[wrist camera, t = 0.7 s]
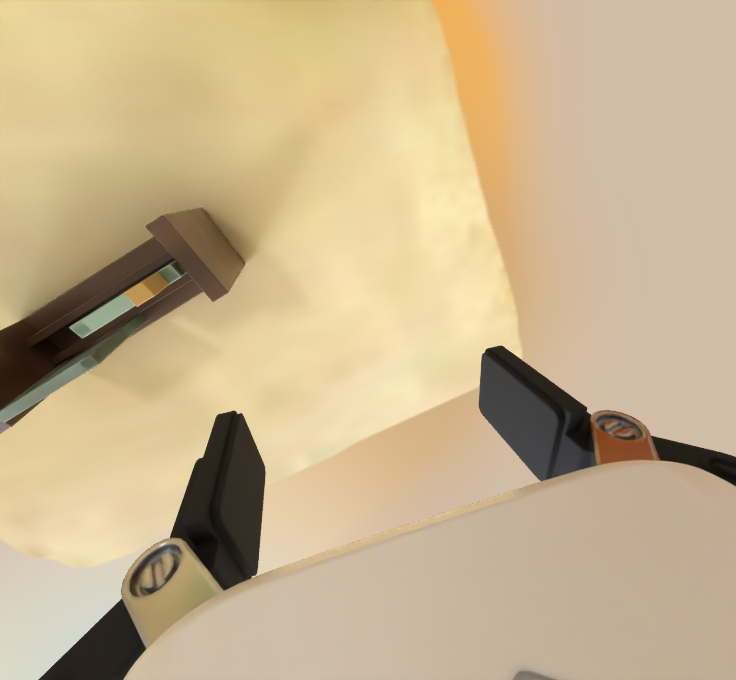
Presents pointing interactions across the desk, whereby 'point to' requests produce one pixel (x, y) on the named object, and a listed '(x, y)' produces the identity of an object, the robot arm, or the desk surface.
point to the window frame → (51, 322)
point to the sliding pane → (129, 299)
